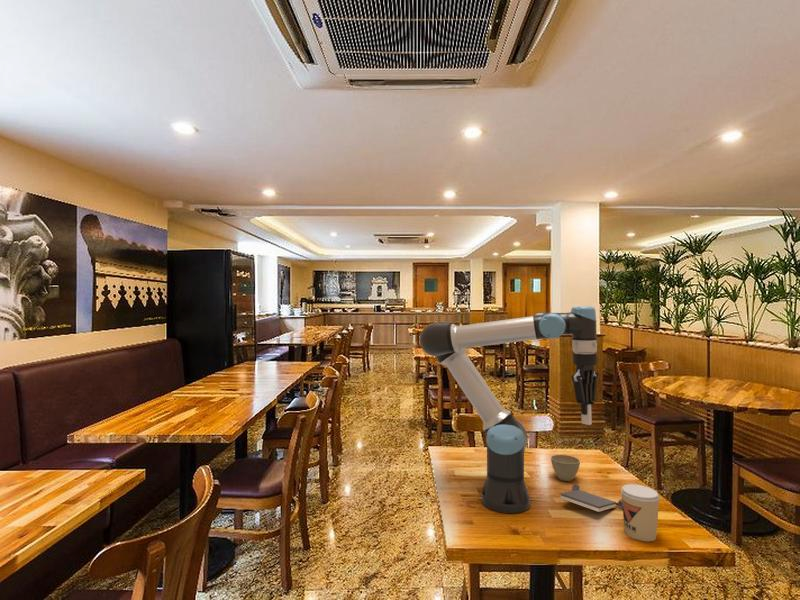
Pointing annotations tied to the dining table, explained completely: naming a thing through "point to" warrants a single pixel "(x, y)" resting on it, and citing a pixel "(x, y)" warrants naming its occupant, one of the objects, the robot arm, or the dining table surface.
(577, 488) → the hinge bracket
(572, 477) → the flower pot
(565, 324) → the robot arm
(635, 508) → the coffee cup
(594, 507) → the tile
